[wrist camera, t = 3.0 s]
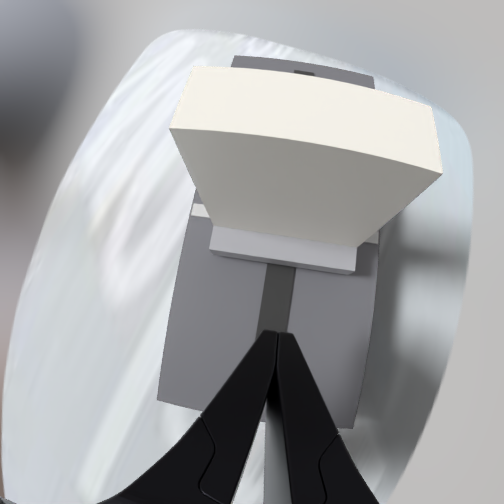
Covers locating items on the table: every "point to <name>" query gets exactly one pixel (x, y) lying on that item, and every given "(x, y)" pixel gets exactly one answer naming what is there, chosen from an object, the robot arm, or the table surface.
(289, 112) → the fader
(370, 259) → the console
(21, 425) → the table surface
